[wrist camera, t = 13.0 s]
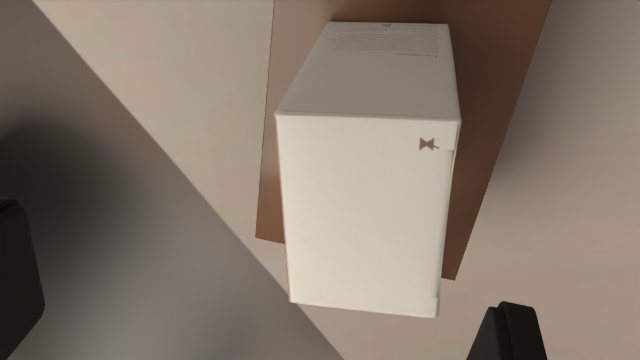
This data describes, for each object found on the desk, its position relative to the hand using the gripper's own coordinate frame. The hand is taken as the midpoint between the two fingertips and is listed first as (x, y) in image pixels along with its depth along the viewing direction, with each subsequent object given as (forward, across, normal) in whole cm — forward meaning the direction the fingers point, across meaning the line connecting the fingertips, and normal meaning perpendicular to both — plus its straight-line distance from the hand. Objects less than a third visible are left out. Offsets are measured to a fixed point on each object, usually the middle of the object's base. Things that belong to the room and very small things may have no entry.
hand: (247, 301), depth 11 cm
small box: (+17, -2, +2) cm, 18 cm away
